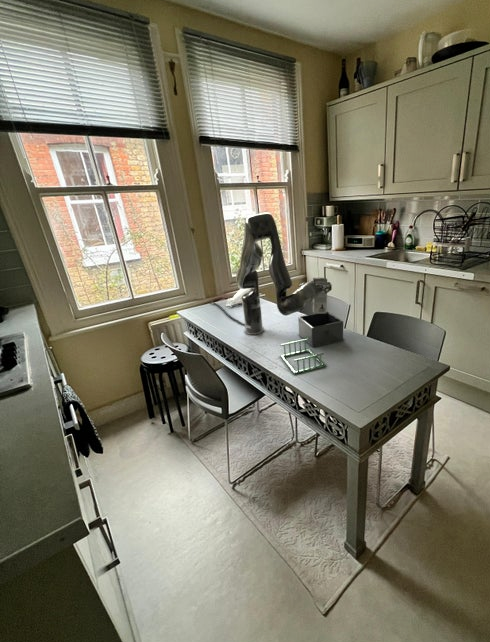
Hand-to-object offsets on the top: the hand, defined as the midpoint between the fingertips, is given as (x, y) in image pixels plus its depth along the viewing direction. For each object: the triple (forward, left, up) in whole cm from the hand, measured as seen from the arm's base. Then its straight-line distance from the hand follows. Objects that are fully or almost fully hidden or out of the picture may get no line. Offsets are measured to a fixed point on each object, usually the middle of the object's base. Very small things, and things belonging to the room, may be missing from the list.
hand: (320, 283), depth 148 cm
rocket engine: (-77, -26, -28) cm, 86 cm away
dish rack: (+19, -19, -28) cm, 39 cm away
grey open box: (0, -1, -28) cm, 28 cm away
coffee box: (+1, -2, -14) cm, 14 cm away
